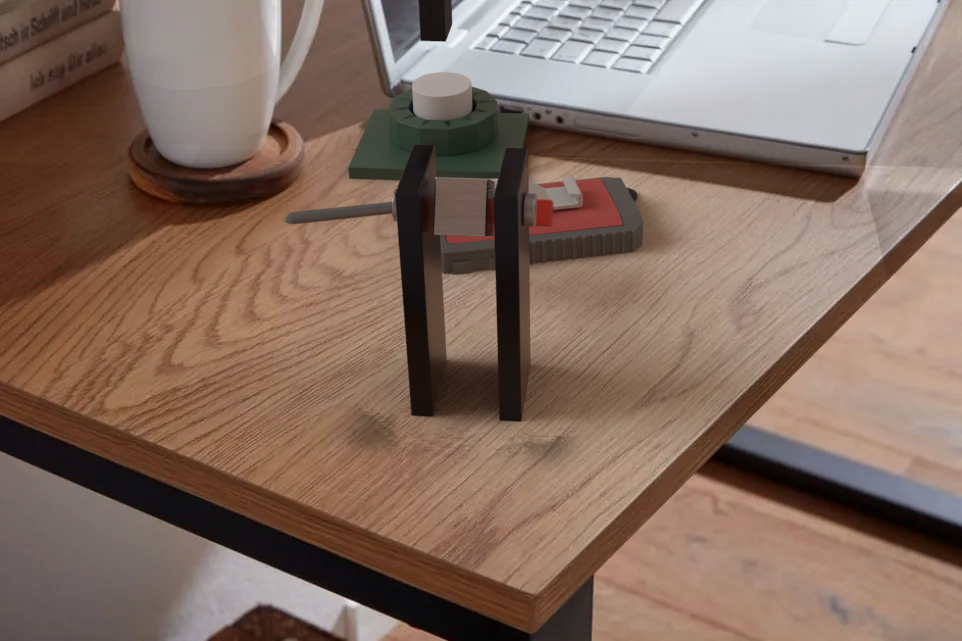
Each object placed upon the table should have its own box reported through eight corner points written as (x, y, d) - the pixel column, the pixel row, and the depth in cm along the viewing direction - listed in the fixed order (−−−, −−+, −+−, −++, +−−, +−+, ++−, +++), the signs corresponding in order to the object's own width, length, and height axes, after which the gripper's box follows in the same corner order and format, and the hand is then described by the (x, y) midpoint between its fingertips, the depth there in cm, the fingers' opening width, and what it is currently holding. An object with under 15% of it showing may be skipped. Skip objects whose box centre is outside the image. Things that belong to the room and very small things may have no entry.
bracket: (403, 359, 66) (386, 124, 59) (564, 367, 65) (566, 129, 58) (372, 463, 60) (348, 213, 53) (551, 474, 59) (552, 220, 52)
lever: (433, 233, 67) (435, 185, 67) (552, 237, 67) (554, 189, 66) (387, 233, 55) (389, 175, 55) (531, 238, 55) (534, 180, 55)
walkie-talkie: (624, 196, 79) (286, 232, 77) (627, 128, 77) (278, 164, 75) (666, 272, 72) (294, 315, 70) (670, 200, 70) (285, 242, 67)
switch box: (530, 143, 86) (529, 85, 83) (516, 205, 79) (516, 144, 77) (376, 138, 87) (372, 81, 85) (350, 199, 80) (345, 139, 78)
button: (475, 98, 83) (475, 72, 82) (468, 124, 80) (467, 97, 79) (418, 97, 83) (417, 71, 82) (408, 122, 80) (407, 95, 79)
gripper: (268, -414, 63) (314, 54, 76) (542, -418, 62) (541, 61, 75) (305, -430, 69) (341, 6, 83) (555, -433, 68) (552, 11, 81)
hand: (436, 32), depth 79 cm, fingers closed
